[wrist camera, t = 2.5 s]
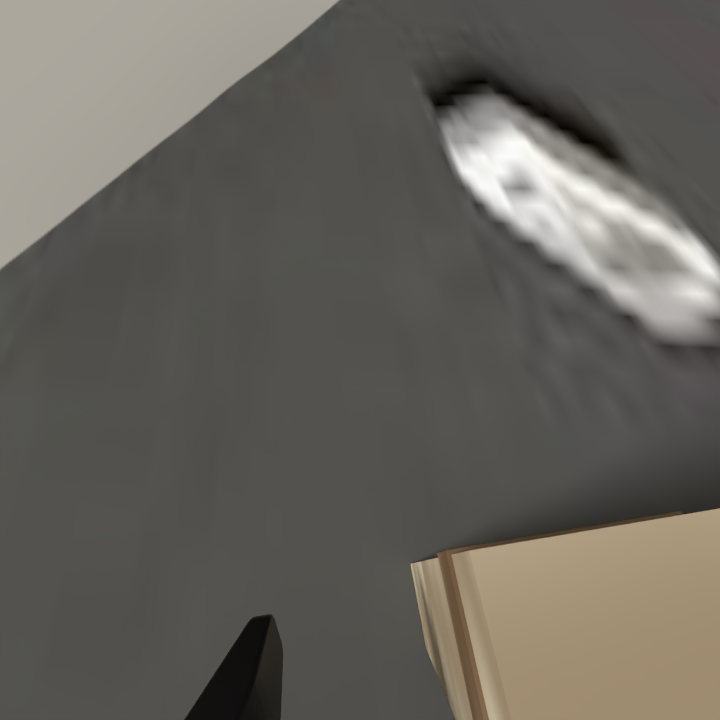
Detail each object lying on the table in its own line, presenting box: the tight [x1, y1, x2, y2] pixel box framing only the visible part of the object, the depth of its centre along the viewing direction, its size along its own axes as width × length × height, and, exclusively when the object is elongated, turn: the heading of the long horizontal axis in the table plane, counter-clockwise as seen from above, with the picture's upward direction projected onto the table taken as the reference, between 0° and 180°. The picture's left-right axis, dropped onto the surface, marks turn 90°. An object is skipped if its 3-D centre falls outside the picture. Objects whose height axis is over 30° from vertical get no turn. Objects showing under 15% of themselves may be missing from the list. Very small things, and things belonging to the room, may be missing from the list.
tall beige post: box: [411, 509, 720, 720], centre depth 9 cm, size 3×3×13 cm
